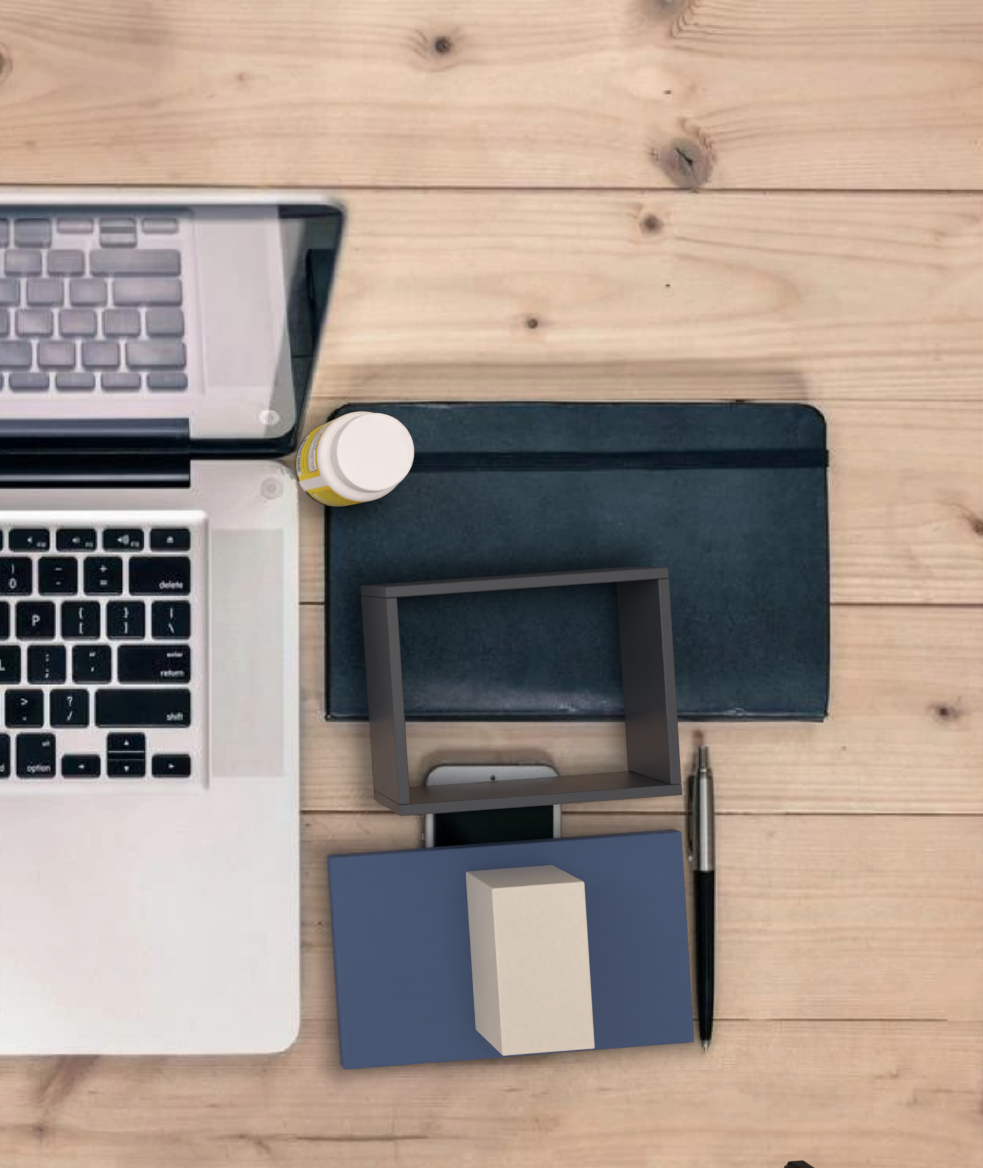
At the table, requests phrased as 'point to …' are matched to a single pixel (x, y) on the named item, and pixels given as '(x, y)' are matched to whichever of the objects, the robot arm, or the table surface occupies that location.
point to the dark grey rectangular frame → (646, 777)
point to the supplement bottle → (354, 459)
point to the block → (530, 959)
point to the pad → (443, 955)
